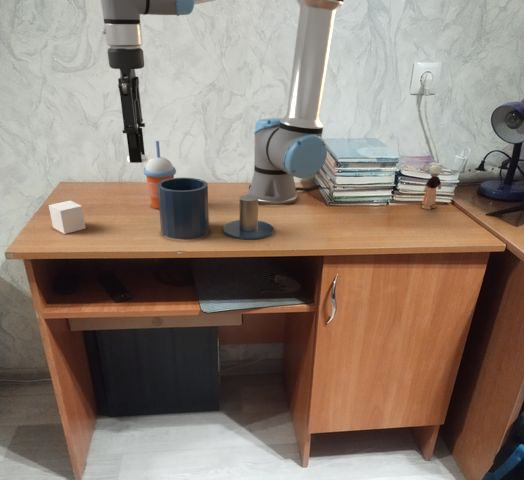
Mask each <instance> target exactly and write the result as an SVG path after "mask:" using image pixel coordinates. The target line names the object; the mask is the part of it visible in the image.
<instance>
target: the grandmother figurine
mask: <svg viewBox="0 0 524 480" xmlns="http://www.w3.org/2000/svg"><path fill="white" fill-rule="evenodd" d="M441 173H442V167H441V166H440V165H439V164H438V163H437V164H436V163H435V164H432V165H431V166H430V168H429V175H430V176H431V177H430V178H428V180H427V181H426V183H425V185H424V188H423V193H424V195H423V198H422V202H421V204H422V206H421V208H422V209H425V210H432V209H435V208H436V200H437V189H438V190H442V182H441V180H440V177H439V175H440V174H441Z"/></svg>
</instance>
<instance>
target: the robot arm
mask: <svg viewBox="0 0 524 480" xmlns="http://www.w3.org/2000/svg"><path fill="white" fill-rule="evenodd" d="M214 1H215V0H100V4H101V11H102V17H103V24H104V28H102V29H101V30H102V31H101V32H102V34H103V35H105V41H106V45H107V46H108V48H107V58H108V66H109V68H111V69H114V70H119V74H120V76H119V78H118V79H117V82H118V83H117V87H118V91H119V97H120V106H121V115H122V123H123V130H122V134H126V139H127V140H126V142H127V151H128V156H129V159H130V162H129V163H130V164H132V163H133V164H139V163H143V162H142V157H141V153H142V155H146V153H145V143H144V142H145V141H144V134H143V132H144V131H143V128H145V127H146V123H145V122H143V121H144V119H143V113H142V105H141V94H140V79H139V76H137V75H136V70H140V69H141V70H142V69H143V68H144V67H145V58H144V50H143V48H141V46H143V44H144V43H143V34H142V33H143V32H142V26H141V25H142V24H141V15H142V16H146V15H150V16H151V15H152V16H153V15H154V16H176V17H179V16H187V15H190V14H192V13H193V11H194V7H195V5H199V4H204V3H209V2H214ZM296 3H298V5H299V15H298V22H297V29H296V38H295V45H294V53H293V54H294V55H293V61H292V69H291V78H290V85H289V94H288V102H287V108H286V109H287V110H286V114H285V116H284V117H275V118H274V117H271V118H260V119H258V120H256V121H255V125H254V133H253V135H254V161H253V162H254V163H253V164H254V167H253V168H254V169H253V171H254V172H253V176H252V179H251V182H250V184H249V186H248V190H247V191H248V192H247V195H253V196H257V197H258V205H262V206H270V205H271V206H287V205H291V204H294V203H295V202H297V200H298V191H301V192H302V191H303V192H305V191H311V190H312V189H315V188H322V187H321V186H320V185H318V183H316V184H311V185H309V186H308V187H301V186H300V187H298V186H297V187H296V182H295V178H298V179H309V178H311V177H313V176H315V175H316V174H317V173H318V172H320V171H321V169H323V166H324V164H325V162H326V159H327V155H328V147H327V145H326V143H325V141H324V139H323V138H322V136H323V131H324V125H323V123H322V122H321V120H320V112H321V106H322V101H323V94H324V87H325V81H326V74H327V69H328V63H329V62H328V61H329V57H330V56H329V55H330V50H331V49H330V48H331V43H332V36H333V29H334V23H335V18H336V17H335V16H336V12H337V10H339V9H340V8H341V7H342V6H343V5H344V0H296ZM137 124H138V128H137Z"/></svg>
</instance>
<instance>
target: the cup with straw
mask: <svg viewBox="0 0 524 480" xmlns="http://www.w3.org/2000/svg"><path fill="white" fill-rule="evenodd" d="M155 149H156V157H151V159H148V161H147V163H146V164H145V167H144V168H143V170H142V172H143V174H144V175H145V177H146V185H147V192H148V196H149V198H150V204H151V208H154V209H156V210H159V199H158V187H157V185H158V183H159V182H161V181H163V180H166V179H172V178H175V175H176V174H177V169H176V167H174V166H173V164H172V162H171V161H170V159H168V158H166V157H163V156H161V151H160V150H161V149H160V141H159V140H155Z"/></svg>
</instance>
